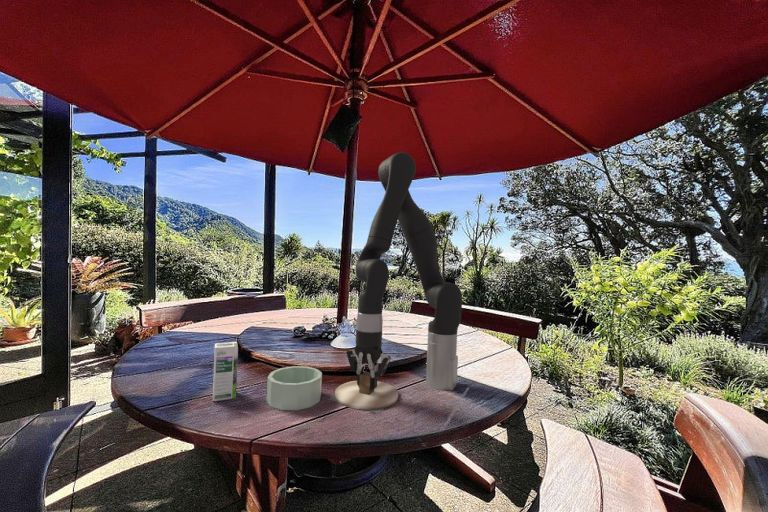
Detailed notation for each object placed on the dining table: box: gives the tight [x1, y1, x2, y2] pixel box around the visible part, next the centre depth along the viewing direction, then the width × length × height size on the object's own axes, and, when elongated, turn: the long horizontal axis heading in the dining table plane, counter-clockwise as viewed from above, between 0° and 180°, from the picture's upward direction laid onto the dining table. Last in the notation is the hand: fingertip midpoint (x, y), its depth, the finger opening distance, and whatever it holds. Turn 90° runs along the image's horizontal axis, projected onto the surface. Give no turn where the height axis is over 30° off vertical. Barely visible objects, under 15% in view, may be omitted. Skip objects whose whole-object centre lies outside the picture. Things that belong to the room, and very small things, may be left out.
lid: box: [334, 371, 399, 411], centre depth 95 cm, size 18×18×6 cm
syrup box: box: [212, 341, 239, 402], centre depth 92 cm, size 6×6×14 cm
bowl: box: [266, 365, 323, 411], centre depth 91 cm, size 14×14×7 cm
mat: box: [326, 389, 403, 414], centre depth 95 cm, size 16×16×1 cm
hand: (366, 388), depth 95 cm, fingers closed on lid, 3 cm apart
